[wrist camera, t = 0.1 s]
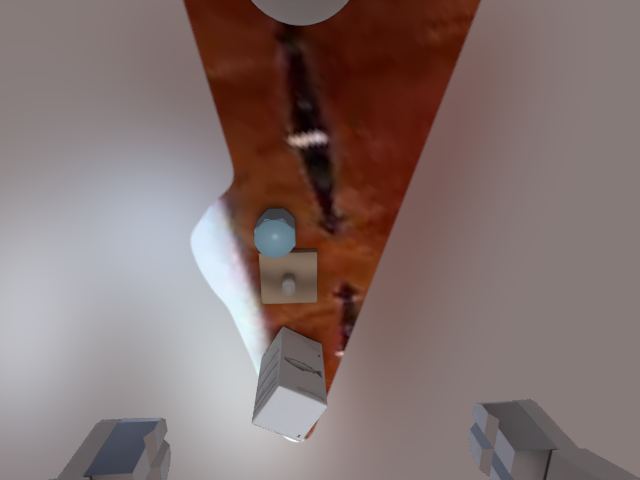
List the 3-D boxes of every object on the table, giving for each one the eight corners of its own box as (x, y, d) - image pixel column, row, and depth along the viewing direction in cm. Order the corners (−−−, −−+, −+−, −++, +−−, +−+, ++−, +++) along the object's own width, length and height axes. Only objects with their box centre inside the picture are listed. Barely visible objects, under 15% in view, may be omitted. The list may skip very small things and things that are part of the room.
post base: (259, 250, 49) (256, 263, 45) (316, 248, 49) (318, 262, 45) (262, 299, 52) (260, 316, 48) (316, 298, 52) (318, 314, 48)
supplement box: (323, 342, 55) (330, 407, 44) (299, 375, 57) (300, 444, 46) (282, 323, 54) (278, 385, 42) (259, 357, 56) (249, 425, 44)
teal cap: (257, 208, 47) (252, 220, 42) (294, 208, 47) (294, 219, 42) (259, 243, 49) (255, 258, 44) (295, 242, 49) (295, 257, 44)
